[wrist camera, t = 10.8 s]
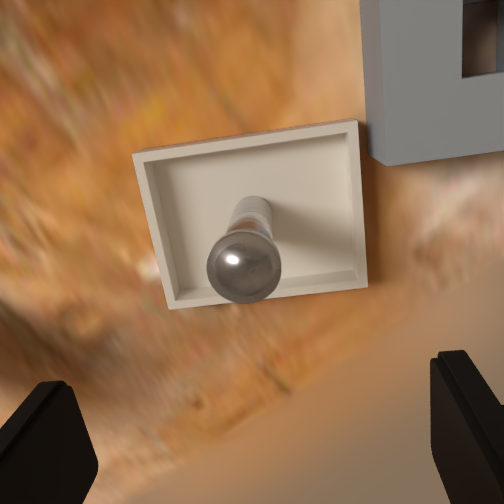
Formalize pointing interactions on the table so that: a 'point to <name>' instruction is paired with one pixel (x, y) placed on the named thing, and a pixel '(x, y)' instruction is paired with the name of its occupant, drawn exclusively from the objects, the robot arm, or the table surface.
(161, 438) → the table surface
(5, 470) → the robot arm
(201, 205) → the tray
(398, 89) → the tensioner block
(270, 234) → the lock pin
